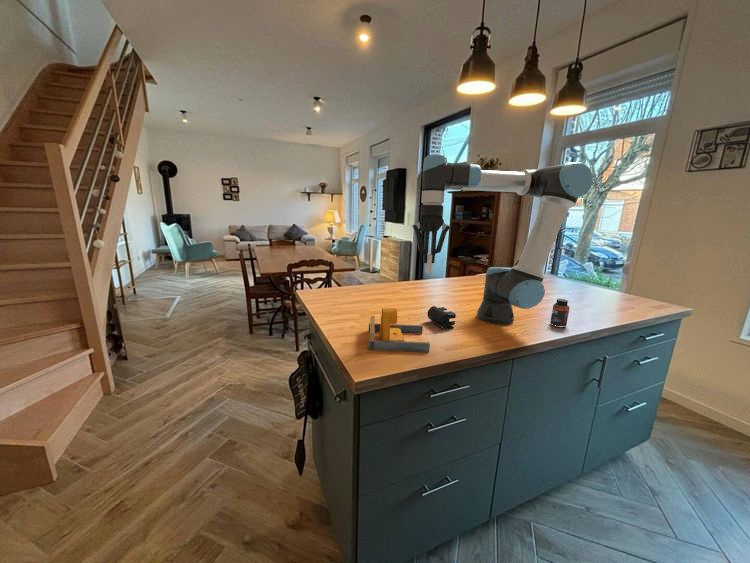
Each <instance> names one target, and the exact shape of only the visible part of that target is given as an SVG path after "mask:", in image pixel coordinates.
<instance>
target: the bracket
mask: <svg viewBox="0 0 750 563" xmlns="http://www.w3.org/2000/svg"><path fill="white" fill-rule="evenodd" d="M380 314H381V315H380V316H381V317H380V323H379V324H380V332H379V335H380V341H404V342H405V337H404V335H403V333H402V332H401V330H400V329H399V328H390V324H397V322H398V310H397V307H381V313H380Z"/></svg>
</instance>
